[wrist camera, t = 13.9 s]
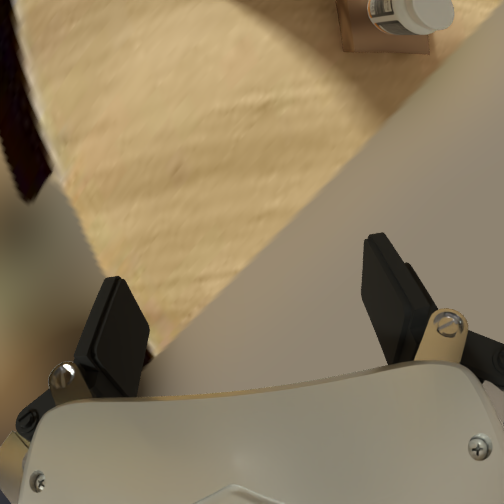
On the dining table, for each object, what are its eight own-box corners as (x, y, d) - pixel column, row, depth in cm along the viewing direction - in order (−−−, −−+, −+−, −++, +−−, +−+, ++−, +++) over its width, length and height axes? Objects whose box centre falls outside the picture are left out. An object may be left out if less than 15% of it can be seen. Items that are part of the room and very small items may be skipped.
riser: (331, -22, 26) (341, -28, 23) (404, -16, 26) (419, -20, 23) (343, 51, 32) (354, 52, 29) (413, 52, 32) (429, 54, 28)
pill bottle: (417, 21, 26) (468, 20, 18) (386, 43, 28) (433, 46, 20) (388, -18, 23) (434, -31, 15) (354, 5, 25) (395, -7, 17)
